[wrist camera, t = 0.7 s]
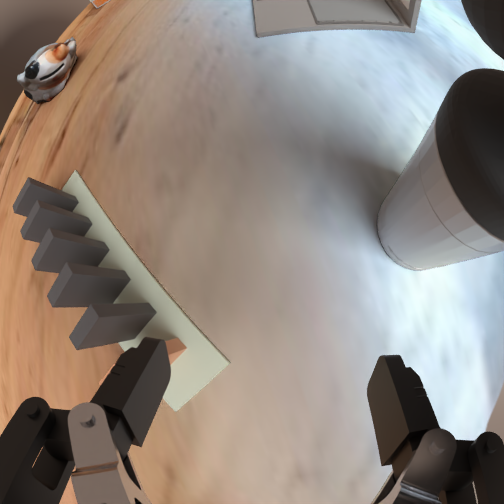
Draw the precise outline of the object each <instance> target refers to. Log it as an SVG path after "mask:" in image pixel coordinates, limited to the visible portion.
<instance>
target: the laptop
mask: <svg viewBox="0 0 504 504" xmlns="http://www.w3.org/2000/svg"><path fill="white" fill-rule="evenodd" d="M420 5H421V0H253V6H254V14H255V23H256V32H257V36H258V38H260V37H266V36H273V35H280V34H287V33H296V32H307V31H320V30H346V29H362V30H387V31H400V32H410V33H415V29H416V24H417V20H418V15H419V10H420Z"/></svg>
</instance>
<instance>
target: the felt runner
mask: <svg viewBox="0 0 504 504" xmlns="http://www.w3.org/2000/svg"><path fill="white" fill-rule="evenodd" d="M61 191H63V192H66V193H68V194H71V195H73V196H75V197H76V198H77V200H78V202H79V203H78V204H77V206H76V207H75V209H74V210H73V212H74V213H77V214H80V215H83V216H85V217H88V218H89V219H90V221H91V222H92V226H91V227H90V229H89V230H88V232H87V233H86V235H85V236H84V237H87V238H90V239H94V240H98V241H102V242H105V244H106V245H107V247H108V248H109V252H108V253H107V254H106V256H105V257H104V259H103V260H102V262H101V263H100V264H99V266H98V267H103V268H110V269H117V270H124V271H125V272H126V273H127V275H128V276H129V277H130V279H131V280H130V282H129V283H128V284H127V285H126V287H125V288H124V289H123V291H122V292H121V293H120V295H119V296H118V297H117V299H116V300H115V301H114V303H113V304H118V303H150V305H151V306H152V307H153V308H154V310H155V311H156V312H157V313H156V314H155V315H154V317H153V318H152V319H151V320H150V321H149V322H148V324H147V325H146V326H145V327H144V328H143V329H142V331H141V332H140V333H139V334H138V335H137V337H136V338H135V339H133V340H128V341H123V342H118V343H119V344H120V346H121V347H122V348H123V350H124V351H127V350H128V349H129V348H131V347H134V348H137V347H138V345H139V344H140V342H141V341H142V339H143V338H144V337H151V338H157V339H163V340H165V341H168V340H171V339H175V338H179V339H180V341H181V342H182V343H183V344H184V345H185V346H186V347H187V349H186V350H185V351H184V352H183V353H182V354H181V355H180V356H179V357H178V358H177V359H176V360H175V361H174V362H173V363H172V364H171V365H170V366H171V377H170V381H169V384H168V386H167V389H166V391H165V393H164V395H163V399H164V400H165V401H166V402H167V403H168V404H169V405H170V407H171V408H172V409H173V410H174V411H175V412H176V411H178V410H179V409H180V408H181V407H182V406H183V405H184V404H186V403H187V402H188V401H189V400H190V399H191V398H192V397H194V396H195V395H196V394H197V393H198V392H199V391H200V390H201V389H203V388H204V387H205V386H206V385H207V384H208V383H209V382H210V381H211V380H212V379H214V378H215V377H216V376H217V375H218V374H219V373H220V372H221V371H222V370H223V369H224V368H225V367H226V366H228V365H229V364H230V361H229V360H228V359H227V358H226V357H225V356H224V355H223V354H222V353H221V352H220V351H219V350H218V349H217V348H216V347H215V346H214V345H213V344H212V343H211V342H210V341H209V340H208V338H207V337H206V336H205V335H204V334H203V333H202V332H201V331H200V330H199V329H198V328H197V326H196V325H195V324H194V323H193V322H192V321H191V320H190V319H189V318H188V316H187V315H186V314H185V313H184V312H183V311H182V310H181V308H180V307H179V306H178V305H177V304H176V303H175V302H174V300H173V299H172V298H171V297H170V296H169V294H168V293H167V292H166V291H165V290H164V289H163V287H162V286H161V285H160V284H159V283H158V281H157V280H156V279H155V278H154V276H153V275H152V274H151V273H150V271H149V270H148V269H147V268H146V266H145V265H144V264H143V263H142V261H141V260H140V259H139V258H138V256H137V255H136V254H135V252H134V251H133V250H132V249H131V247H130V246H129V245H128V243H127V242H126V241H125V239H124V238H123V237H122V235H121V234H120V233H119V231H118V230H117V228H116V227H115V226H114V224H113V223H112V222H111V220H110V219H109V217H108V216H107V215H106V213H105V212H104V210H103V209H102V207H101V206H100V205H99V203H98V202H97V200H96V199H95V197H94V196H93V194H92V193H91V191H90V190H89V188H88V187H87V185H86V184H85V182H84V181H83V179H82V178H81V176H80V175H79V173H78V172H77V170H75V171H74V172H73V174H72V175H71V177H70V178H69V180H68V181H67V183H66V184H65V186H64V187H63V189H62V190H61Z"/></svg>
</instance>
